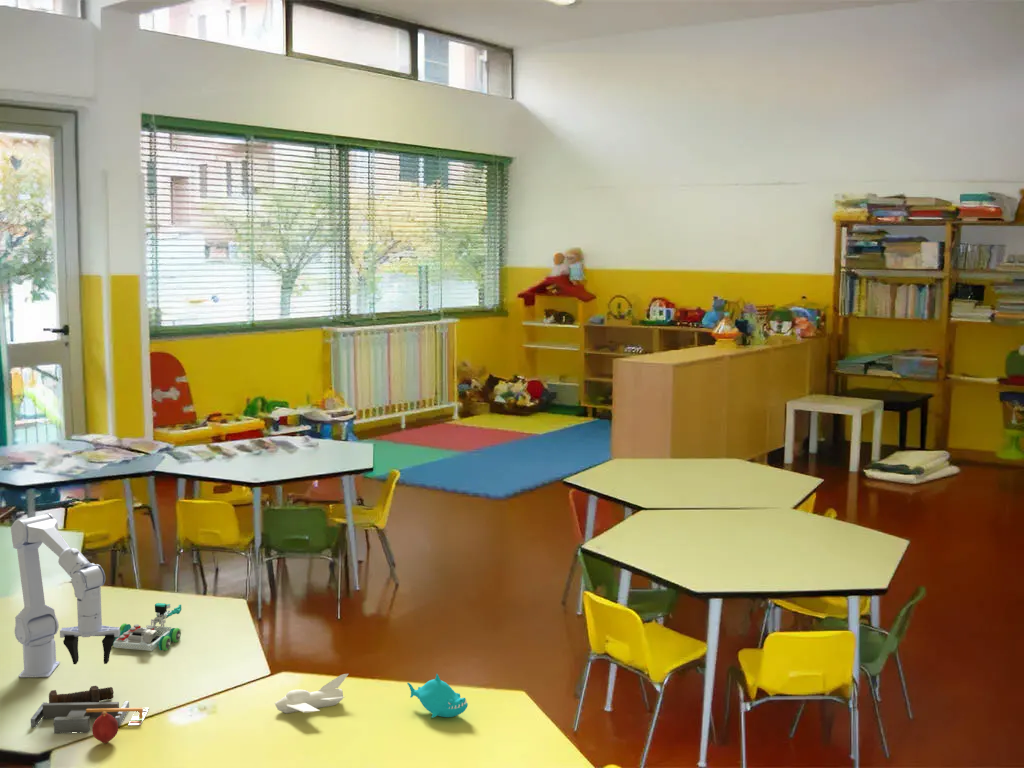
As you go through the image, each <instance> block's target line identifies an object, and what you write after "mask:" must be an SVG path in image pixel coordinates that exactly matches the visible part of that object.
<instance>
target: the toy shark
mask: <svg viewBox="0 0 1024 768" xmlns="http://www.w3.org/2000/svg"><path fill="white" fill-rule="evenodd" d="M407 686H408V688H409V690H410V698H413V697H417V700H419V701H420V704H421V705H422V707H424V708H425V710H426V711H428V712H429V713H430V714H431V718H436V717H437V716H438V717H441V718H453V717H458V716H459V715H461V714H463V713H464V712H465V711H466V710H467V708H468V705H469V704H468V702H467V699H466V697H461V694H460V693H459V692H456V691H455V690H454V689H453V688H452V687H451V686H450V685H449V684H448V683H447V682H446V681H444V680H441V679H440V676H439V674H438V673H436V675H435V678H433V679H430V680H428V681H426V682H425V684H423V685H422V686H417V687H418V688H417V689H415V688H414V687H413V685H412V684H411V683H410V682H407Z"/></svg>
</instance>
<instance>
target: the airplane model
mask: <svg viewBox="0 0 1024 768" xmlns="http://www.w3.org/2000/svg"><path fill="white" fill-rule="evenodd" d="M348 675H349V673H343V674H340V675H339V676H337V677H336V678H334V679H332V680H331V681H329V682H328V683H326V684H324V685H323V686H322V687H321V688H319V689H318V690H315V691H311V692H310V691H308V690H307V689H306V690H305V689H292V690H289V691H288V692H287V693H286V694H285V696H283V697H282V698H279V700H277V701H276V702H274V705H275V707H276V708H277V710H278V711H280V712H282V713H284V714H291V713H296V712H301V713H304V714H306V713H314V712H320V711H321V710H320V708H326V707H327V708H328V707H331V706H336V705H338V704H339V703H340V702H341V701H342V700H343V699H344V698H345V696H344V694H343V689H342V688H340V686H341V685H342V683H344V681H345V679H346V678H347V677H348Z"/></svg>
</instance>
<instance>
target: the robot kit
mask: <svg viewBox="0 0 1024 768" xmlns="http://www.w3.org/2000/svg"><path fill="white" fill-rule="evenodd" d="M170 608H171V604H170V603H168V604H167V603H162V602H161V603H160V602H157V603H155V604H154V612H155V613H156V617H155V618H153V619H150V625H146V627H141V625H140V624H137V623H136V624H134V625H133V626H132V625H131V623H130V624H129V623H128V624H127V623H126V622H125V623H122V624H121V625H120V626H119V627H120V635H119V636H118V637H116V638H115V640H114V643H113V645H112V647H113V648H115V649H117V648H120V649H127V650H128V649H129V650H130V649H131V650H140V651H151V652H153V651H154V650H155V649H156V648H157V647H158V649H159V651H164V652H167V651H169V650H170V647H171V644H172V642H173V643H179V641H180V639H181V637H182V635H181V634H182V632H181V629H180V627H176V628H175V627H171V626H169V627H168V626H165V623H166V619H167V618H169V617H171V616H173V615H179V614H180V613H181V611H182V604H178V606H177V607H174V608H173V609H171V610H168V609H170ZM157 623H158V625H157ZM156 625H157V626H156Z"/></svg>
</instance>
